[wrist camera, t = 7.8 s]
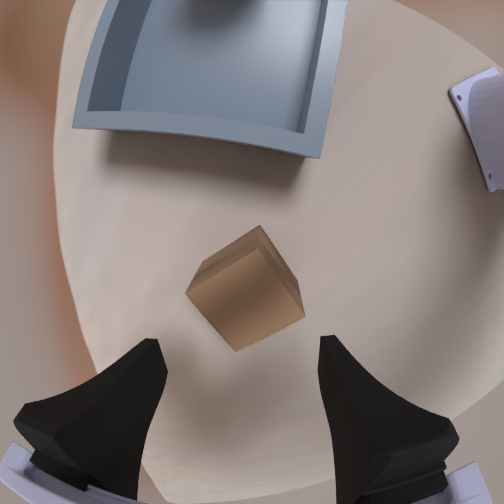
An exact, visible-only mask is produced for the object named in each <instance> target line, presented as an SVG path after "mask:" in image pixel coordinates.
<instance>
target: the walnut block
mask: <svg viewBox="0 0 504 504" xmlns="http://www.w3.org/2000/svg"><path fill="white" fill-rule="evenodd" d="M185 294H186V295H187V296H188V298H189V299H190V300H191V301H192V303H193V304H194V305H195V306H196V307H197V309H198V310H199V311H200V312H201V313H202V314H203V316H204V317H205V318H206V319H207V320H208V321H209V323H210V324H211V325H212V326H213V327H214V328H215V330H216V331H217V332H218V333H219V334H220V335H221V336H222V337H223V339H224V340H225V341H226V342H227V343H228V344H229V345H230V346H231V347H232V349H233V350H234V351H235V352H236V351H238V350H241V349H243V348H245V347H247V346H249V345H251V344H253V343H255V342H257V341H259V340H261V339H263V338H265V337H267V336H269V335H271V334H273V333H275V332H277V331H279V330H281V329H283V328H285V327H287V326H289V325H291V324H293V323H294V322H296V321H298V320H300V319H302V318H304V317H305V313H304V308H303V304H302V299H301V294H300V290H299V285H298V281H297V279H296V278H295V276H294V275H293V273H292V272H291V270H290V269H289V267H288V266H287V264H286V263H285V261H284V260H283V258H282V257H281V255H280V254H279V252H278V251H277V249H276V248H275V246H274V245H273V243H272V242H271V240H270V239H269V237H268V236H267V234H266V233H265V232H264V230H263V229H262V227H261V226H260V225H259V226H257V227H256V228H254V229H253V230H251V231H249V232H248V233H246V234H245V235H243V236H242V237H240V238H238V239H237V240H235V241H234V242H232V243H231V244H229V245H228V246H226V247H225V248H223V249H221V250H220V251H218V252H217V253H215V254H214V255H212V256H211V257H209V258H208V259H206V260H205V261H203V262H202V264H201V266H200V267H199V269H198V271H197V273H196V275H195V276H194V278H193V280H192V282H191V284H190V285H189V287H188V289H187V291H186V293H185Z"/></svg>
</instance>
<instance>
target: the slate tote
mask: <svg viewBox="0 0 504 504" xmlns="http://www.w3.org/2000/svg"><path fill="white" fill-rule="evenodd" d="M346 4H347V0H107V3H106V5H105V8H104V10H103V13H102V15H101V18H100V20H99V23H98V26H97V28H96V31H95V34H94V37H93V40H92V43H91V46H90V50H89V53H88V56H87V60H86V63H85V67H84V71H83V75H82V79H81V83H80V88H79V92H78V97H77V102H76V107H75V113H74V118H73V125H72V128H75V129H95V130H109V131H129V132H144V133H157V134H168V135H178V136H187V137H195V138H203V139H210V140H217V141H224V142H230V143H236V144H242V145H248V146H253V147H258V148H264V149H269V150H274V151H279V152H283V153H288V154H292V155H297V156H301V157H305V158H318V159H320V155H321V151H322V146H323V141H324V136H325V131H326V126H327V121H328V116H329V111H330V105H331V100H332V95H333V89H334V84H335V78H336V72H337V66H338V60H339V54H340V47H341V41H342V34H343V27H344V20H345V12H346Z"/></svg>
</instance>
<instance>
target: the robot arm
mask: <svg viewBox="0 0 504 504" xmlns="http://www.w3.org/2000/svg"><path fill="white" fill-rule="evenodd" d="M450 94H451V96H452V98H453V100H454V102H455V104H456V106H457V108H458V111H459V113H460V115H461V117H462V119H463V121H464V124H465V126H466V128H467V131H468V133H469V136H470V138H471V141H472V143H473V146H474V148H475V151H476V154H477V157H478V159H479V162H480V165H481V168H482V171H483V174H484V178H485V181H486V184H487V188H488V190H489V191H490V192H495V191H496V190H497V189H501V190H504V74H502V75H499V73H498V71H497V69H496V68H495V67H491V68H489V69H487V70H485V71H483V72H481V73H478V74H476V75H474V76H472V77H470V78H468V79H466V80H464V81H462V82H460V83H458V84H456V85H454V86H452V87H451V88H450ZM457 96H458V98H459V100H458V99H457ZM488 175H489V177H488ZM167 374H168V370H167V367H166V364H165V361H164V358H163V355H162V352H161V349H160V346H159V342H158V339H149V338H146V339H144V340H143V341H141V342H140V343H139V344H137V345H136V346H135V347H134V348H132V349H131V350H130V351H129V352H127V353H126V354H125V355H124V356H122V357H121V358H120V359H119V360H117V361H116V362H115V363H113V364H112V365H111V366H109V367H108V368H106V369H105V370H104V371H102V372H101V373H100V374H98V375H96V376H95V377H93V378H92V379H90V380H88V381H87V382H85V383H83V384H81V385H79V386H77V387H75V388H73V389H71V390H68V391H66V392H64V393H62V394H59V395H56V396H53V397H50V398H47V399H44V400H40V401H35V402H31V403H26V404H25V405H24V406H23V408H22V409H21V410H20V412H19V413H18V414H17V416H16V417H15V419H14V420H13V422H14V425H15V427H16V428H17V430H18V431H19V432H20V434H21V435H22V436H23V437H24V438H25V439H26V440H27V441H28V442H29V443H30V445H32V447H33V448H34V449H35V451H34V453H32V452H30V451H29V450H28V449H26V448H24V447H23V446H21V445H20V444H18V443H16V442H13V443H12V444H11V446H10V448H9V449H8V451H7V453H6V454H5V456H4V458H3V459H2V461H1V463H0V480H1V481H2V482H3V483H4V484H6V485H7V486H8V487H9V488H10V489H12V490H13V491H14V492H16V493H17V494H19V495H20V496H21V497H22V498H24V499H25V500H27V501H28V502H30V503H31V504H146V503H142V502H139V501H137V492H138V479H139V471H140V464H141V459H142V454H143V449H144V444H145V440H146V436H147V432H148V429H149V426H150V423H151V421H152V418H153V416H154V413H155V411H156V408H157V406H158V403H159V401H160V398H161V396H162V393H163V390H164V387H165V383H166V378H167ZM318 377H319V385H320V391H321V395H322V399H323V403H324V407H325V411H326V415H327V419H328V423H329V427H330V432H331V437H332V445H333V454H334V465H335V478H336V501H337V502H336V503H337V504H493V502H492V500H491V497H490V494H489V491H488V490H487V486H486V484H485V481H484V479H483V476H482V474H481V472H480V469H479V467H478V465H477V463H476V461H473V462H471V463H469V464H468V465H465V466H463V467H461V468H459V469H457V470H455V471H453V472H452V473H450V474H448V475H447V476H445V473H444V470H445V469H446V465H445V462H444V460H445V459H446V458H447V457H448V455H449V454H450V453H451V452H452V451H453V450H454V448H455V447H456V446H457V444H458V441H459V437H458V435H457V432H456V430H455V428H454V426H453V424H452V422H451V421H450V419H449V418H446V417H443V416H440V415H437V414H434V413H432V412H429V411H427V410H424V409H422V408H420V407H418V406H416V405H414V404H412V403H410V402H408V401H407V400H405V399H403V398H402V397H400V396H398V395H397V394H395V393H394V392H392V391H391V390H389V389H388V388H387V387H385V386H384V385H383V384H381V383H380V382H379V381H378V380H377V379H375V378H374V377H373V376H372V375H371V374H370V373H369V372H368V371H367V370H366V369H365V368H364V367H363V366H362V365H361V364H360V363H359V362H358V361H357V360H356V359H355V358H354V357H353V356H352V355H351V354H350V352H349V351H348V350H347V349H346V348H345V347H344V345H343V344H342V343H341V342H340V341H339V339H338V338H337V337H336V336H335V335H329V336H321V337H320V350H319V361H318Z"/></svg>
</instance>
